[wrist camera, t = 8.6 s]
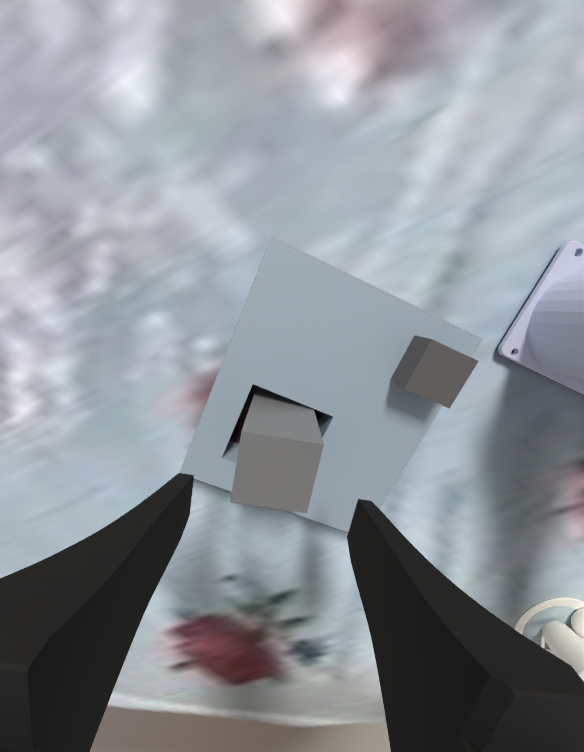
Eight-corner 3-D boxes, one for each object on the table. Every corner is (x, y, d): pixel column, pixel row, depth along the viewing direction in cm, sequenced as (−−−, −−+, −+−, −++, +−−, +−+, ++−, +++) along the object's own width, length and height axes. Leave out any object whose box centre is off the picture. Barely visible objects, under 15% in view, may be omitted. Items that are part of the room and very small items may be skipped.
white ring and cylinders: (606, 591, 26) (664, 642, 22) (583, 650, 28) (632, 706, 24) (518, 593, 26) (560, 645, 22) (501, 652, 28) (537, 709, 24)
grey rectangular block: (310, 397, 20) (323, 444, 13) (299, 445, 21) (307, 513, 14) (256, 387, 20) (241, 431, 13) (247, 437, 20) (230, 502, 14)
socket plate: (457, 334, 19) (509, 343, 15) (353, 512, 22) (370, 562, 18) (272, 245, 17) (269, 225, 13) (191, 453, 21) (167, 493, 16)
